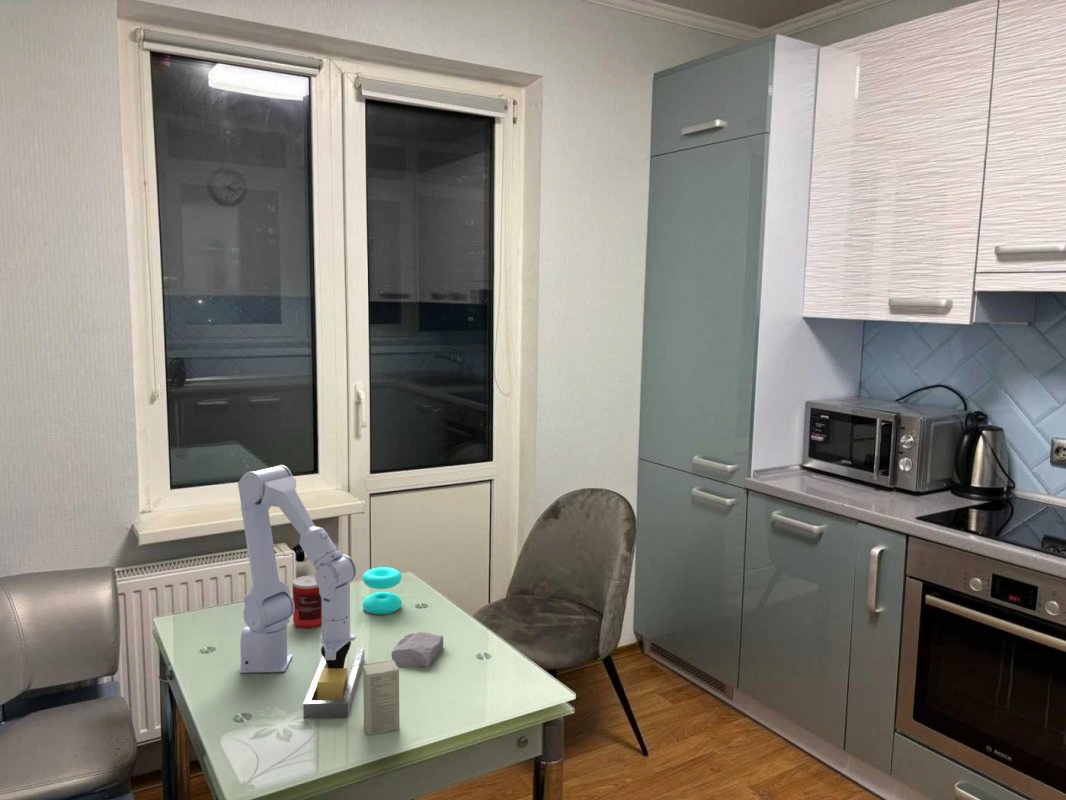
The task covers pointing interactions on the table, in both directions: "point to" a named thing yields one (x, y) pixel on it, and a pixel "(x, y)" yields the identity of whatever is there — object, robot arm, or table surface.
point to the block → (332, 684)
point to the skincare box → (381, 697)
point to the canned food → (307, 603)
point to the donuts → (382, 600)
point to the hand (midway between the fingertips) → (336, 677)
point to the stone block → (417, 649)
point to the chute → (333, 707)
